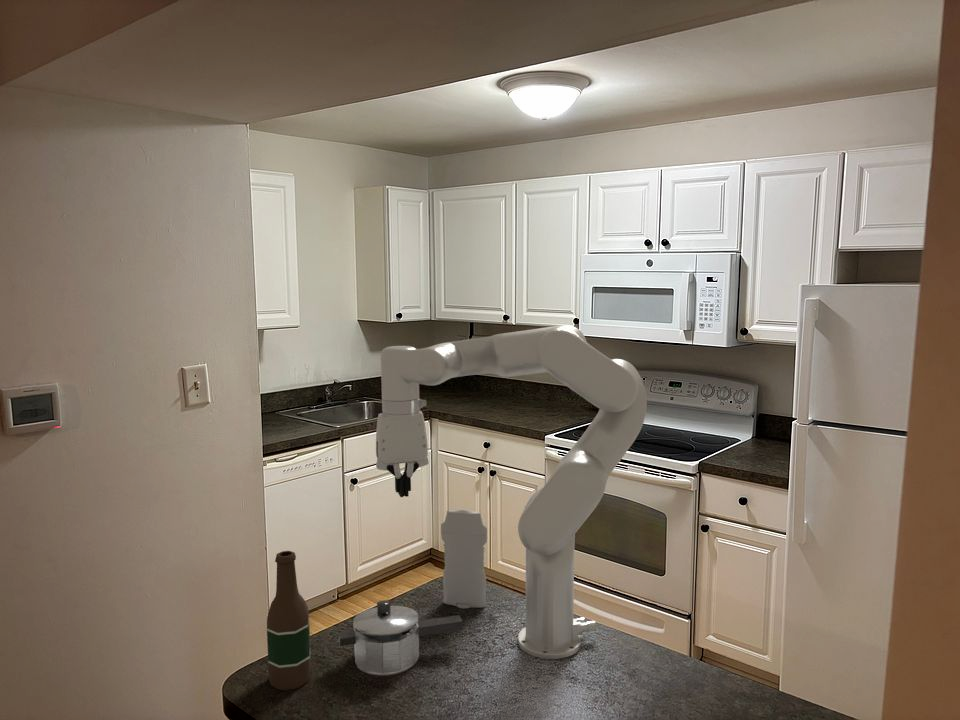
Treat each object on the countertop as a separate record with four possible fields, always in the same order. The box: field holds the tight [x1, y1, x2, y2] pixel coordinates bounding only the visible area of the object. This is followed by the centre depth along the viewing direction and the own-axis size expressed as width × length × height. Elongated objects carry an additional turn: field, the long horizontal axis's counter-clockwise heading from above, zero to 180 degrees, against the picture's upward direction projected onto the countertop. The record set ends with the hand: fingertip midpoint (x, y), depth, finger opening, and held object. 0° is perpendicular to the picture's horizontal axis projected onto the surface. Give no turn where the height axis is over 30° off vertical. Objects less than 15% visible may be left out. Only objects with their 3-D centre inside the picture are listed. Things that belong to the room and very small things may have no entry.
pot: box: [338, 614, 464, 677], centre depth 134 cm, size 24×13×6 cm, turn 106°
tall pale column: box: [440, 509, 488, 609], centre depth 154 cm, size 11×4×22 cm, turn 77°
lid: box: [352, 600, 419, 636], centre depth 133 cm, size 12×12×3 cm
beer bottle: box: [266, 550, 312, 691], centre depth 125 cm, size 8×8×24 cm
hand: (403, 494), depth 142 cm, fingers closed
